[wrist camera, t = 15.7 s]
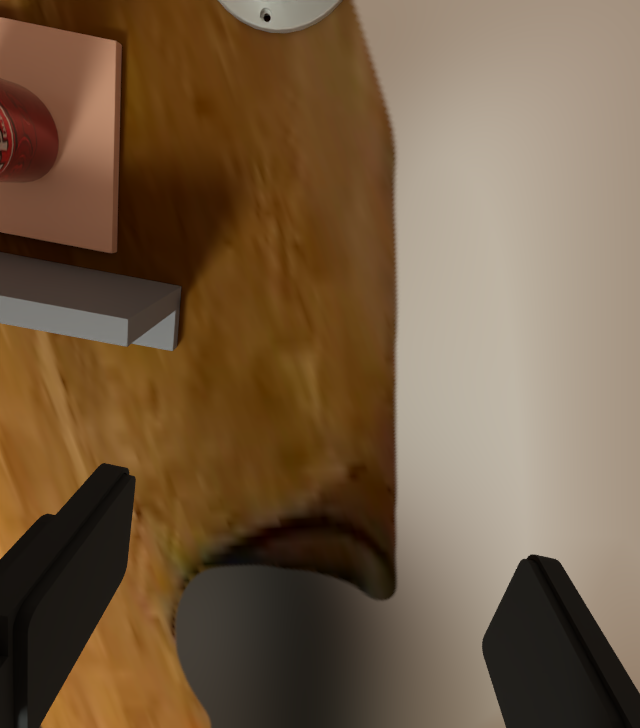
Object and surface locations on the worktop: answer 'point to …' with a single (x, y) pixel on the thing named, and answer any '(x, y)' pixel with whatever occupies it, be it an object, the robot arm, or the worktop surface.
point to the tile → (67, 135)
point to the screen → (88, 303)
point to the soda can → (25, 135)
